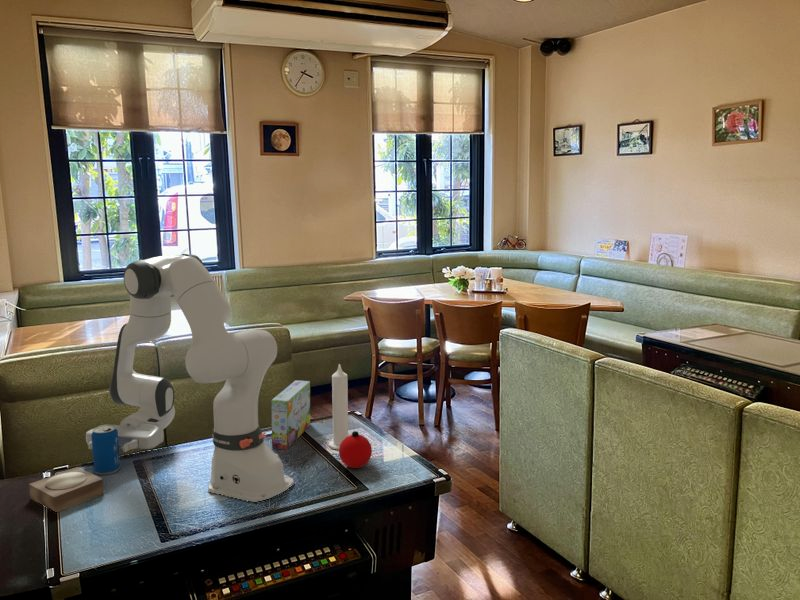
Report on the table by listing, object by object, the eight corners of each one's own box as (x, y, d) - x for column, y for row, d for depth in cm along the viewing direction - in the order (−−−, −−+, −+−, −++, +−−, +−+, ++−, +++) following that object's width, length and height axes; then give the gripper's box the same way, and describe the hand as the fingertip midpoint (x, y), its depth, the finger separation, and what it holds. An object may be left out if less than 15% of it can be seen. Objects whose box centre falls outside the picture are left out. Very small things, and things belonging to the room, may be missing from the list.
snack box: (289, 450, 187) (287, 400, 184) (271, 449, 188) (269, 399, 185) (311, 424, 208) (310, 380, 205) (295, 423, 209) (294, 379, 206)
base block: (104, 493, 160) (102, 477, 159) (55, 513, 150) (53, 495, 149) (78, 481, 166) (77, 465, 166) (30, 499, 157) (28, 482, 156)
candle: (324, 445, 191) (322, 363, 187) (342, 438, 195) (341, 359, 191) (338, 452, 186) (337, 368, 181) (357, 445, 190) (356, 364, 186)
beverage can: (110, 477, 169) (107, 433, 167) (89, 474, 170) (85, 432, 168) (125, 466, 175) (122, 425, 173) (104, 464, 177) (101, 423, 175)
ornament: (333, 464, 177) (333, 429, 176) (362, 457, 182) (362, 423, 180) (348, 476, 170) (347, 440, 168) (377, 468, 174) (377, 434, 173)
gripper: (102, 416, 187) (70, 434, 173) (167, 421, 183) (139, 439, 170) (104, 437, 188) (72, 456, 174) (168, 442, 184) (141, 461, 171)
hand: (106, 447), depth 172 cm, fingers open, 8 cm apart
